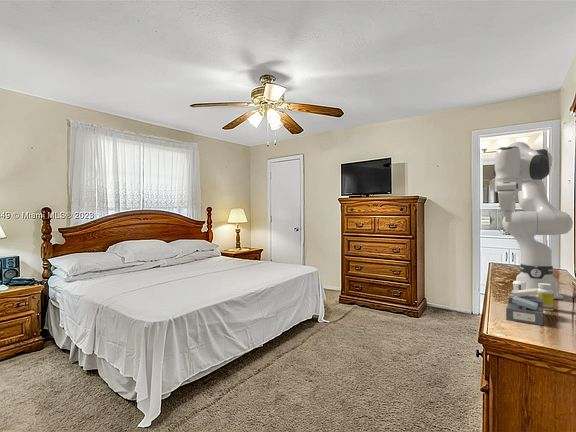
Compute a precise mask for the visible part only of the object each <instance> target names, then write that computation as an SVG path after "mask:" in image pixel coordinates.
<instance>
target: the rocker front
mask: <svg viewBox="0 0 576 432" xmlns="http://www.w3.org/2000/svg"><path fill="white" fill-rule="evenodd" d="M512 303H515V304H518V305H521V306H524V307H527V308H530V309H533V310H536V309H537V304H538V303H535V302H532V301H529V300H526V299H523V298H520V297H517V296H514V297H513V299H512Z"/></svg>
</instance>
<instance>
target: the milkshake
mask: <svg viewBox="0 0 576 432" xmlns="http://www.w3.org/2000/svg"><path fill="white" fill-rule="evenodd" d="M527 281H528V280H527ZM526 283H527V282H526ZM526 283H525V282H522V281H516V280H513V282H512V287H513V288H512V290H514V291H515V290H525V288H526Z"/></svg>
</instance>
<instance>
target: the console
mask: <svg viewBox="0 0 576 432" xmlns="http://www.w3.org/2000/svg"><path fill="white" fill-rule="evenodd" d="M513 297H514V293H512V292H510V293H509V295H508V297H507V298H508V304H507V305H506V309H505V312H506V313H505V317H506V320H507V321H512V322H517V323H526V324H529V325H530V324H532V325H537V326H542V327H543V326H544V310H543V297H537V296H519V297H520V298H523V299H526V300H529V301H532V302H535V303H538V304H537V309H536V310H533V309H530V308H527V307H524V306H521V305H518V304H515V303H512V299H513Z"/></svg>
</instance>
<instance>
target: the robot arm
mask: <svg viewBox="0 0 576 432" xmlns="http://www.w3.org/2000/svg"><path fill="white" fill-rule="evenodd" d="M552 165H553V156H552V154H551V153H550V152H549V151H548V149H545V148H540V149H534V148H531V146H529V144H528V143H525V142H522V141H517V142H516V141H515V142H513V143H511V144H509V145H508V146H506V147H505V146H504V147H500V148H498V149H496V151H495V158H494V163H493V165H492V174H493V177H494V192H495V193H497V194H498V195H497V198H498V203H499V204H498V205H499V208H500V210H502V211H504V213H503V214H504V216H503V218H502V221H501V222H502V223H501V225H502V228H503V229H504V231H505V232H506V233H507V234H509V235H511V236H512V237H513V238H514V239H515V240H516V242H517V243H518V246H519V248H520V254H521V255H520V259H521V261H520V262H521V263H520V264H519V268H520V273H519V274H517V275H516V278H515V279H516V280H515V281H522V282H525V283H526V282H527V283H526V288H525V289H535V288H537V289H539V287H538V283H546V284H551V288H550V289H551V290H552V291H553V293H554V300H556V299H559V300H561V299H564V295H562V294H561V293H559V292H558V290H559V287H558V279H557V278H556V277H554V275H553V274H554V267H553V265H552V261H553V260H552V248H551V247H550V246H549V245H547V244H545V243H542V242H540V241H537V240H536V238H535V236H558V235H559V236H560V235H565V234H568V233H569V232H570V231H571V230H572V228H573V225H574V224H573V223H574V222H573V219H572V217H571V215H570V214H569V213H567V212H565V211H562V210H560V209H558V208H556V207H555V206H554V205H552V204H551V202H550V201H549V199H548V195H547V189H546V186H545V183H544V181H543V180H544V179H546V178H547V177H548V176H549V175H550V172H551V169H552ZM516 196H518V197H517V198H518V204H519V207H520V209H522V210H523V211H521V210H520V211H516ZM527 280H528V281H527ZM511 293H512V294H514V290H513V289H512V290H511ZM530 296H536V295H530Z"/></svg>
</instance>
